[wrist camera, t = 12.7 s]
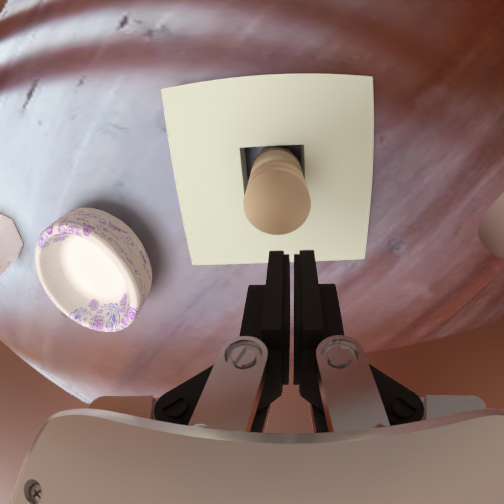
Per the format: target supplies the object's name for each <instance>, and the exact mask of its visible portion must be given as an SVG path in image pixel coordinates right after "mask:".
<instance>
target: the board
mask: <svg viewBox="0 0 504 504" xmlns="http://www.w3.org/2000/svg"><path fill="white" fill-rule="evenodd" d="M161 92H162V99H163V107H164V114H165V121H166V128H167V135H168V141H169V148H170V154H171V160H172V166H173V171H174V177H175V183H176V188H177V193H178V199H179V204H180V209H181V214H182V219H183V224H184V229H185V234H186V238H187V243H188V248H189V252H190V257H191V261H192V265H217V264H249V263H268V259H269V251H284V254H289V259H290V262H294V254H299V251H300V250H314V254H315V261H331V260H355V259H364V258H365V250H366V242H367V234H368V225H369V214H370V203H371V190H372V174H373V150H374V96H373V77H370V76H359V75H343V74H272V75H256V76H244V77H234V78H226V79H218V80H210V81H204V82H197V83H191V84H185V85H180V86H175V87H170V88H165V89H161ZM278 145H300V149H301V170H302V173H303V176H304V179H305V182H306V185H307V188H308V192H309V195H310V199H311V209H310V213H309V216H308V218H307V219H306V221H305V222H304V223H303V224H302V226H300V227H299V228H298V229H296V230H295V231H293V232H291V233H288V234H283V235H272V234H267V233H264V232H262V231H260V230H258V229H257V228H255V227H254V226H253V225H252V224H251V223H250V222H249V220H248V219H247V217H246V215H245V212H244V207H243V200H244V195H245V192H246V188H247V185H248V177H247V167H246V156H245V147H259V146H278Z"/></svg>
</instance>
